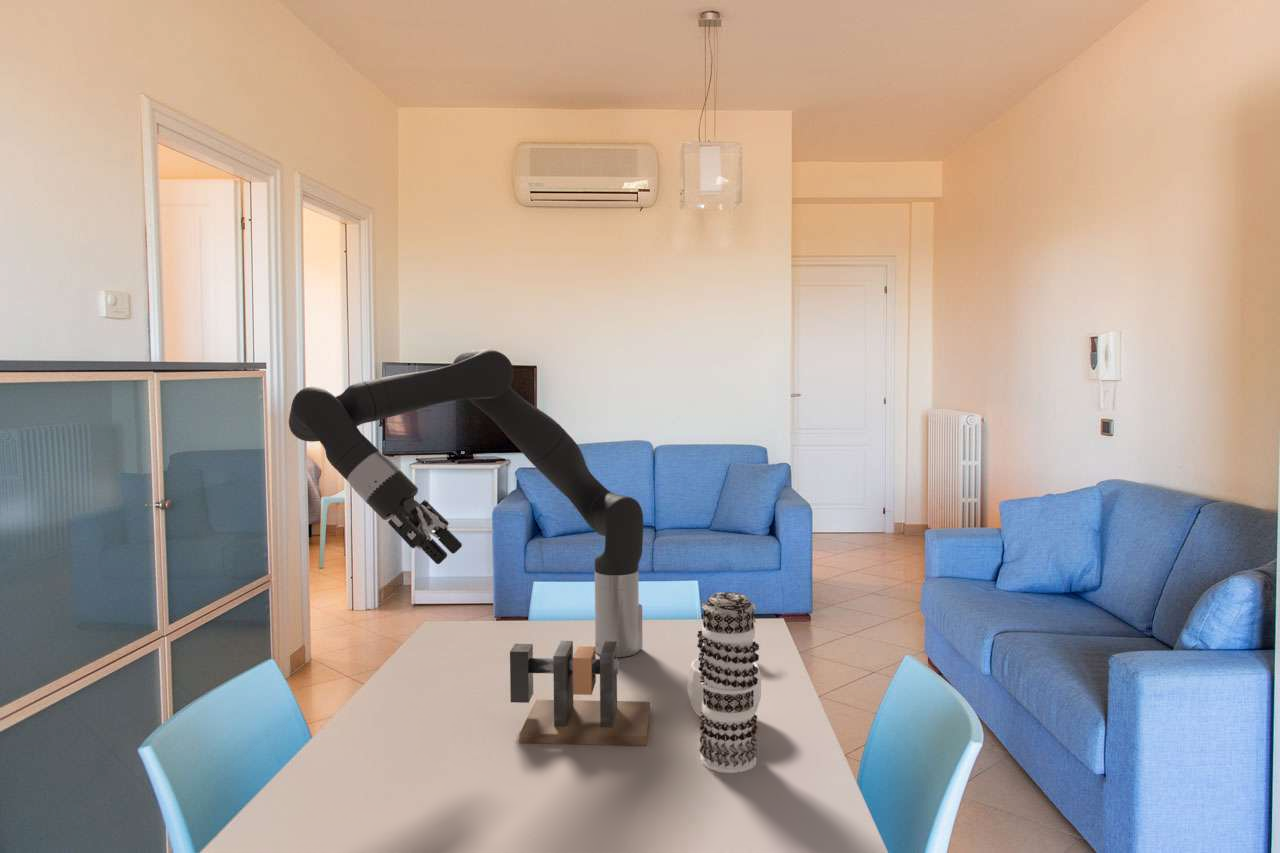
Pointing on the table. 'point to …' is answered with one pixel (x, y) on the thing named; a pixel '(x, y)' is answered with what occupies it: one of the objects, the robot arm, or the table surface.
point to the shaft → (534, 671)
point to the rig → (586, 709)
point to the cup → (697, 690)
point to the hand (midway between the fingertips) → (451, 554)
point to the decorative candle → (728, 683)
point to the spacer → (583, 670)
